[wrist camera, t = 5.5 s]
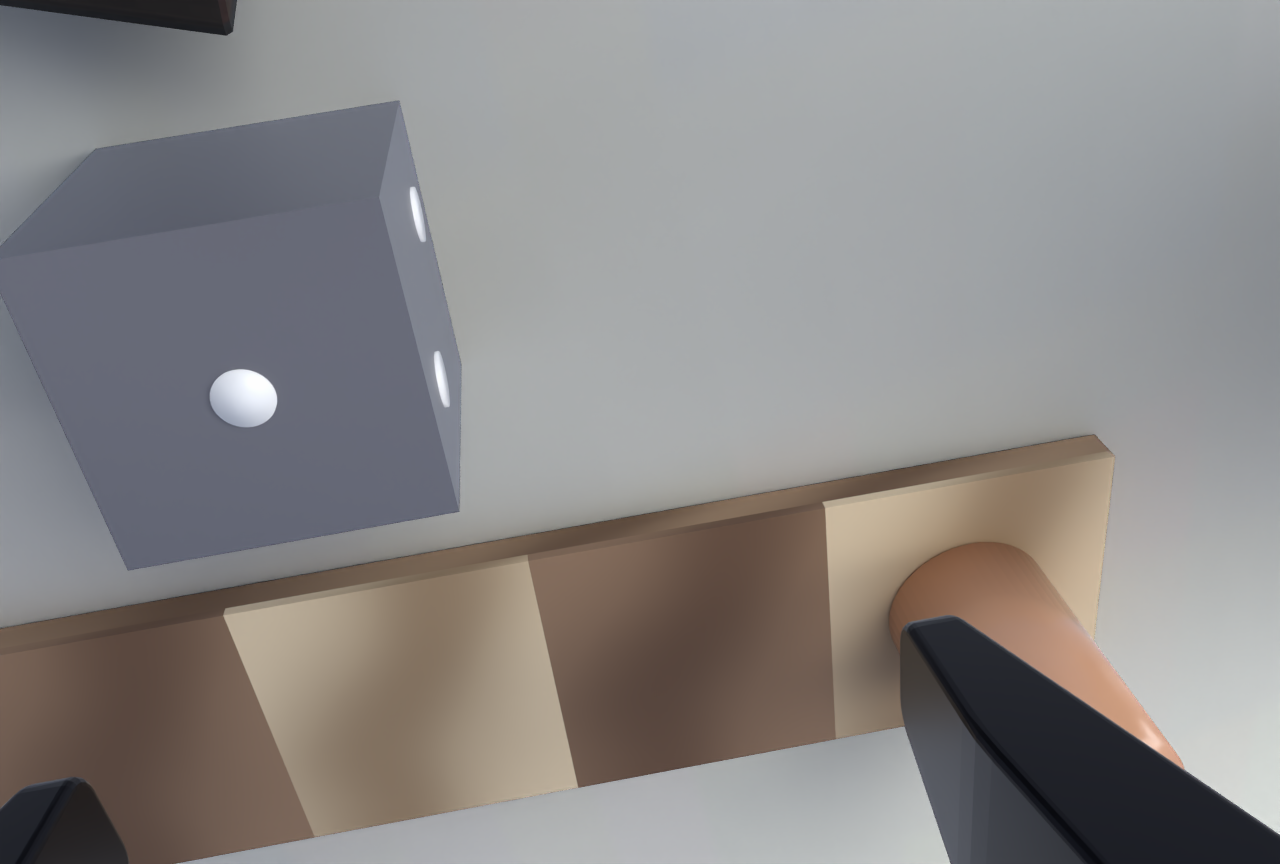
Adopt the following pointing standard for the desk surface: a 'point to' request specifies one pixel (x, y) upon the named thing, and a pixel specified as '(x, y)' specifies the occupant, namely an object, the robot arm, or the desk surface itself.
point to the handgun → (146, 12)
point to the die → (245, 334)
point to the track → (521, 656)
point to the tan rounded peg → (1023, 626)
